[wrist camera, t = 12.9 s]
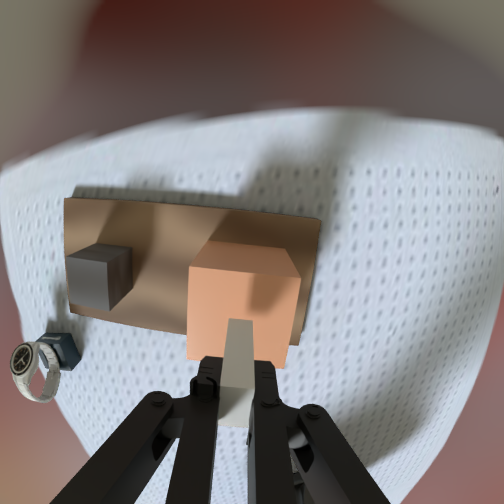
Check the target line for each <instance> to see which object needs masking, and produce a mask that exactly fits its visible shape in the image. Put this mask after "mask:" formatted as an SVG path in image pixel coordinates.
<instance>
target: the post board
mask: <svg viewBox="0 0 504 504" xmlns="http://www.w3.org/2000/svg"><path fill="white" fill-rule="evenodd" d="M320 225H321V220H319V219H315V218H307V217H299V216H291V215H283V214H275V213H267V212H258V211H249V210H239V209H230V208H220V207H209V206H199V205H187V204H175V203H162V202H149V201H134V200H117V199H98V198H75V197H70V198H64V254H65V269H66V281H67V290H68V299H69V306H70V312H71V313H75V314H79V315H83V316H87V317H92V318H96V319H101V320H105V321H110V322H115V323H120V324H125V325H130V326H135V327H140V328H146V329H152V330H158V331H164V332H170V333H177V334H183V335H187V305H188V279H189V266H190V264H191V263H192V261H193V260H194V259H195V257H196V256H197V254H198V253H199V252H200V250H201V249H202V247H203V246H204V245H205V243H206V242H207V240H208V241H218V242H227V243H237V244H246V245H256V246H265V247H274V248H283V249H285V250H286V251H287V253H288V255H289V257H290V259H291V260H292V262H293V264H294V266H295V268H296V269H297V271H298V273H299V275H300V277H301V283H300V288H299V294H298V300H297V305H296V311H295V316H294V321H293V326H292V332H291V337H290V342H289V345H296V346H298V345H299V341H300V336H301V331H302V326H303V322H304V317H305V312H306V307H307V302H308V296H309V291H310V286H311V280H312V275H313V269H314V263H315V257H316V251H317V245H318V238H319V232H320Z"/></svg>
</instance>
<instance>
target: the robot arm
mask: <svg viewBox="0 0 504 504" xmlns="http://www.w3.org/2000/svg"><path fill="white" fill-rule="evenodd" d="M218 425H220V426H230V427H242V428H248V426H249V432H248V437H247V442H246V445H248V504H391V503H390V502H389V500H388V499H387V498H386V496H385V495H384V494H383V492H382V491H381V489H380V488H379V487H378V485H377V484H376V482H375V481H374V479H373V478H372V477H371V475H370V474H369V472H368V471H367V470H366V468H365V467H364V465H363V464H362V462H361V461H360V460H359V458H358V457H357V455H356V454H355V452H354V451H353V449H352V448H351V447H350V445H349V444H348V442H347V441H346V439H345V438H344V436H343V435H342V433H341V432H340V430H339V429H338V427H337V426H336V424H335V423H334V422H333V420H332V419H331V417H330V416H329V414H328V413H327V411H326V410H325V409H324V408H323V407H321V406H319V405H315V404H307V405H304V406H302V407H301V408H300V409H297V408H293V407H290V406H287V405H285V404H284V403H283V402H282V400H281V399H280V398H279V393H278V386H277V379H276V371H275V366H274V365H273V364H272V362H271V361H262V360H254V345H253V320H243V319H233V318H229V320H228V328H227V335H226V343H225V350H224V358H223V357H214V356H205V357H204V358H203V359H202V360H201V362H200V366H199V370H198V374H197V376H195V377H194V378H192V379H191V381H190V395H188V396H186V397H183V398H172V397H171V396H170V395H169V394H167V393H165V392H162V391H153V392H150V393H148V394H147V395H146V396H145V397H144V398H143V399H142V400H141V401H140V402H139V404H138V405H137V406H136V407H135V408H134V409H133V410H132V412H131V413H130V414H129V415H128V416H127V417H126V418H125V420H124V421H123V422H122V423H121V424H120V425H119V426H118V428H117V429H116V430H115V431H114V432H113V433H112V434H111V436H110V437H109V438H108V439H107V440H106V441H105V442H104V443H103V445H102V446H101V447H100V448H99V449H98V450H97V451H96V452H95V454H94V455H93V456H92V457H91V458H90V459H89V460H88V461H87V463H86V464H85V465H84V466H83V467H82V468H81V469H80V470H79V472H78V473H77V474H76V475H75V476H74V477H73V478H72V479H71V480H70V482H69V483H68V484H67V485H66V486H65V487H64V488H63V489H62V490H61V491H60V493H59V494H58V495H57V496H56V497H55V498H54V499H53V500H52V501H51V502H50V504H134V503H135V501H136V500H137V498H138V497H139V495H140V494H141V492H142V491H143V489H144V488H145V486H146V485H147V483H148V482H149V480H150V479H151V477H152V476H153V474H154V473H155V471H156V469H157V468H158V466H159V465H160V463H161V462H162V460H163V459H164V457H165V455H166V454H167V452H168V451H169V449H170V448H171V446H172V444H173V443H174V441H175V439H176V438H180V439H179V444H178V448H177V452H176V457H175V461H174V466H173V470H172V475H171V479H170V484H169V489H168V493H167V498H166V503H165V504H210V500H211V490H212V479H213V469H214V459H215V449H216V439H217V427H218ZM290 454H291V456H292V458H293V460H294V462H295V464H296V466H297V468H298V470H299V473H296V474H293V472H292V465H291V457H290Z"/></svg>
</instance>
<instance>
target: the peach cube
mask: <svg viewBox="0 0 504 504" xmlns="http://www.w3.org/2000/svg"><path fill="white" fill-rule="evenodd" d="M300 283H301V277H300V275H299V273H298V271H297V269H296V268H295V266H294V264H293V262H292V260H291V259H290V257H289V255H288V253H287V251H286V250H285V249H283V248H274V247H265V246H256V245H246V244H237V243H227V242H218V241H208V240H207V242H206V243H205V245H204V246H203V247H202V249H201V250H200V252H199V253H198V254H197V256H196V257H195V259H194V260H193V261H192V263H191V264H190V266H189V279H188V305H187V359H189V360H196V361H201V360H202V359H203V358H204V357H205V356H214V357H223V358H224V350H225V343H226V335H227V328H228V320H229V318H233V319H243V320H253V345H254V360H262V361H271V362H272V364H273V365H274V366H275V368H281V369H284V366H285V361H286V356H287V351H288V347H289V342H290V337H291V332H292V326H293V321H294V316H295V311H296V305H297V300H298V294H299V288H300Z"/></svg>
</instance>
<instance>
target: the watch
mask: <svg viewBox="0 0 504 504" xmlns="http://www.w3.org/2000/svg"><path fill="white" fill-rule="evenodd" d="M38 353H39V355H40V357H41V359H42V362H43V364H44V366H45V368H47V369H49V372H47V378H46V382H45V385H44V388H43V393H42V395H41V396H40V397H39V398H36V397H35V396H34V395H32V393H31V391H30V390H29V387H28V385H30V382H31V378H32V376H33V375H34V373H35V372H36V370H37V368H38V364H39V355H38ZM80 360H81V358H80V355H79V353H78V351H77V348H76V346H75V343H74V341H73V338H72V336H71V333H45V334H43V335H42V336H41V337H40V338H39V339H38V340H37V341H35V342H26V343H22V344H21V345H19V346H18V347H17V348H16V349H15V350H14V352H13V354H12V356H11V360H10V369H11V372H12V374H13V380H14V381H15V383H16V386H17V387H18V389H19V391H20V392H21V393H22V394H23V396H25V397H26V398H28V399H30V400H33V401H37V402H42V403H47V402H49V401H50V400H51V399H52V398H53V397H54V396H55V395H56V393H57V390H58V387H59V382H60V376H61V373H60V370H65V371H72V370H73V369H74V368H75V366H76V365H77V364H78V363H79V362H80Z"/></svg>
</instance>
